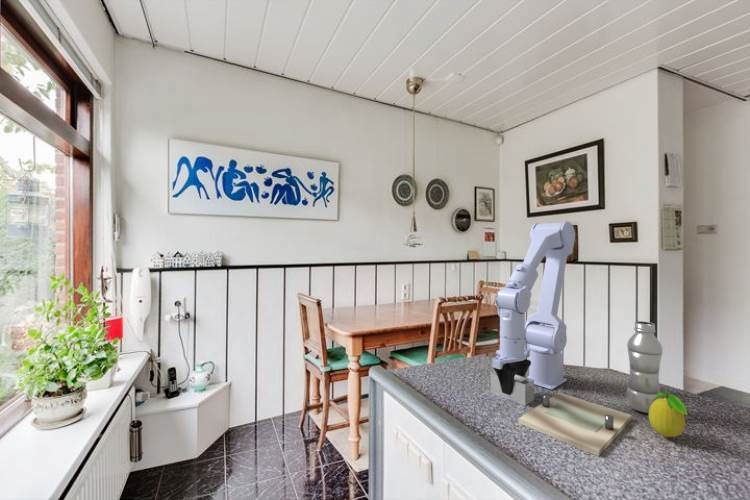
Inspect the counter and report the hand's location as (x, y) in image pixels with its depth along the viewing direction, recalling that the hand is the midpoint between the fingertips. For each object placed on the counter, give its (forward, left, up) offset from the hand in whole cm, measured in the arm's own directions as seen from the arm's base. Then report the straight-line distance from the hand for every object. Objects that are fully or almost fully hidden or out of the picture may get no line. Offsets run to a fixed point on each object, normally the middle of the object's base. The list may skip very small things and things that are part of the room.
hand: (511, 390), depth 86 cm
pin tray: (+1, +15, -1) cm, 15 cm away
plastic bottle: (-16, +23, -2) cm, 28 cm away
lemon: (-6, +29, -2) cm, 30 cm away
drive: (0, 0, -1) cm, 1 cm away
